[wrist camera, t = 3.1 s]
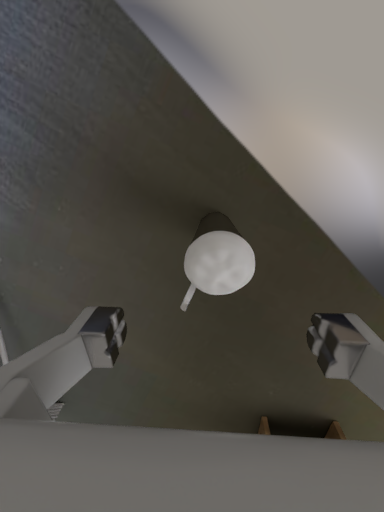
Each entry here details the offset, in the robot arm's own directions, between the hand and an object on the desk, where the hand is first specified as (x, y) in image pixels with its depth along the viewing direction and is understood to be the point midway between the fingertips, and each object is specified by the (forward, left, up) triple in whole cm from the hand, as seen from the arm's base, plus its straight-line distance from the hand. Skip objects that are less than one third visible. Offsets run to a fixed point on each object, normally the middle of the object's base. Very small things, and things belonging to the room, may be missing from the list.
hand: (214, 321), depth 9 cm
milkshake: (0, 0, -13) cm, 13 cm away
